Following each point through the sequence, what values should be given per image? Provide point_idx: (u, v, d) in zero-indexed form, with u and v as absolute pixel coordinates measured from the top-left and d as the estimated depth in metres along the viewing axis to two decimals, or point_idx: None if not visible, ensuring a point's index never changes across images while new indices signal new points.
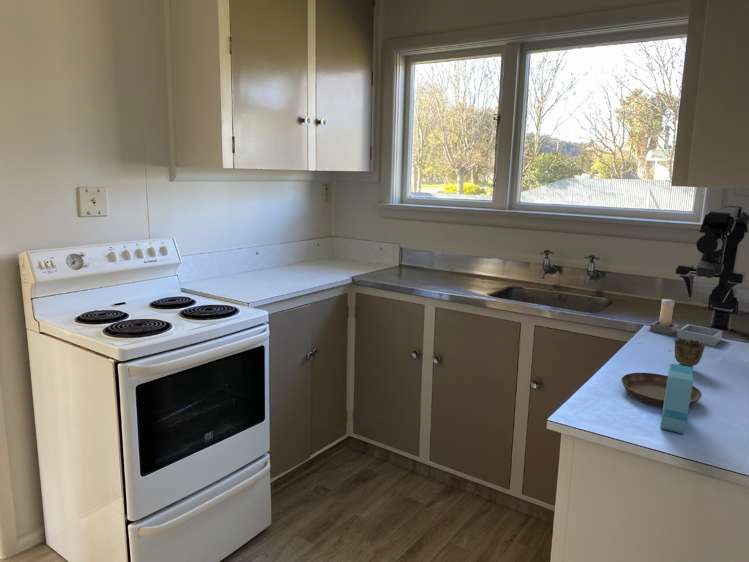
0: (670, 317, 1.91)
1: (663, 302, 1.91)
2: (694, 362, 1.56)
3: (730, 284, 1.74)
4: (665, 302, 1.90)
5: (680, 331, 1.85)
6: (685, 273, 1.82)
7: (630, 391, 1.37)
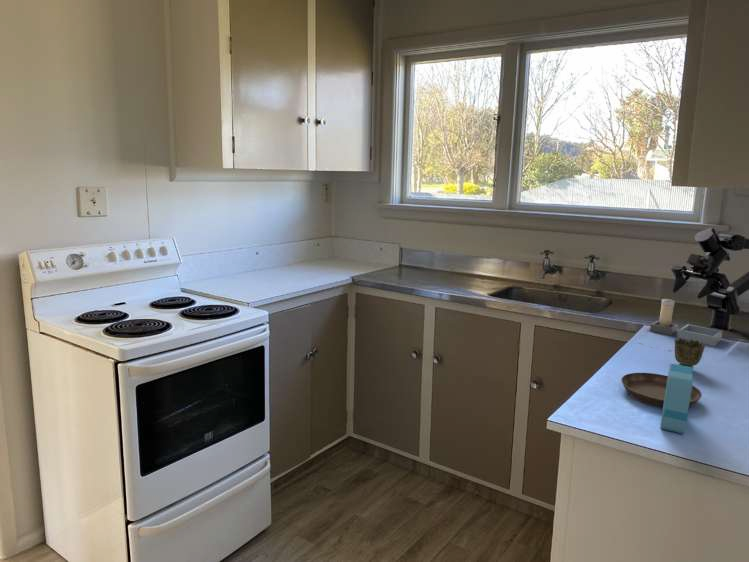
0: (670, 317, 1.91)
1: (663, 302, 1.91)
2: (694, 362, 1.56)
3: (711, 279, 1.88)
4: (665, 302, 1.90)
5: (680, 331, 1.85)
6: (679, 268, 1.99)
7: (630, 391, 1.37)
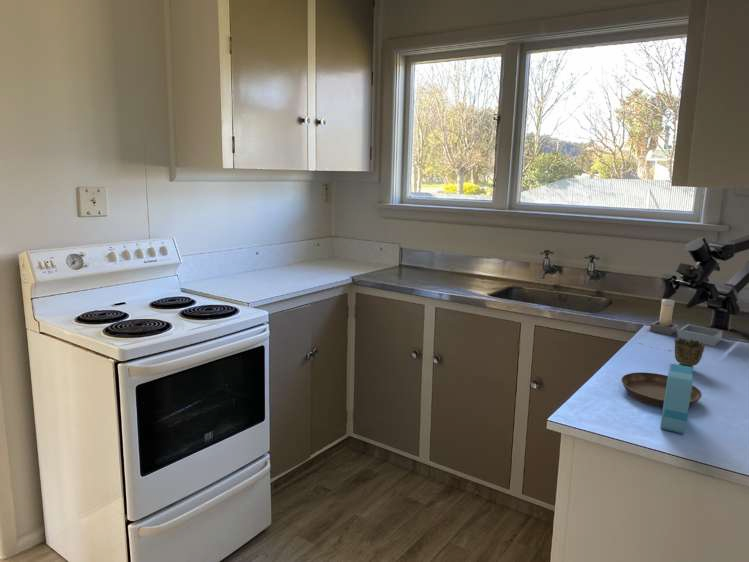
0: (670, 317, 1.91)
1: (663, 302, 1.91)
2: (694, 362, 1.56)
3: (700, 289, 1.87)
4: (665, 302, 1.90)
5: (680, 331, 1.85)
6: (668, 277, 1.98)
7: (630, 391, 1.37)
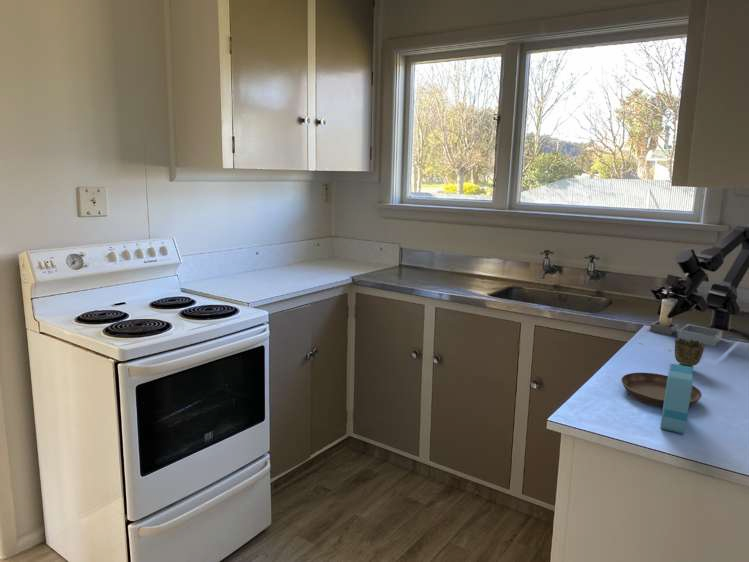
0: None
1: (663, 302, 1.91)
2: (694, 362, 1.56)
3: (681, 299, 1.88)
4: (665, 302, 1.90)
5: (680, 331, 1.85)
6: (657, 288, 1.97)
7: (630, 391, 1.37)
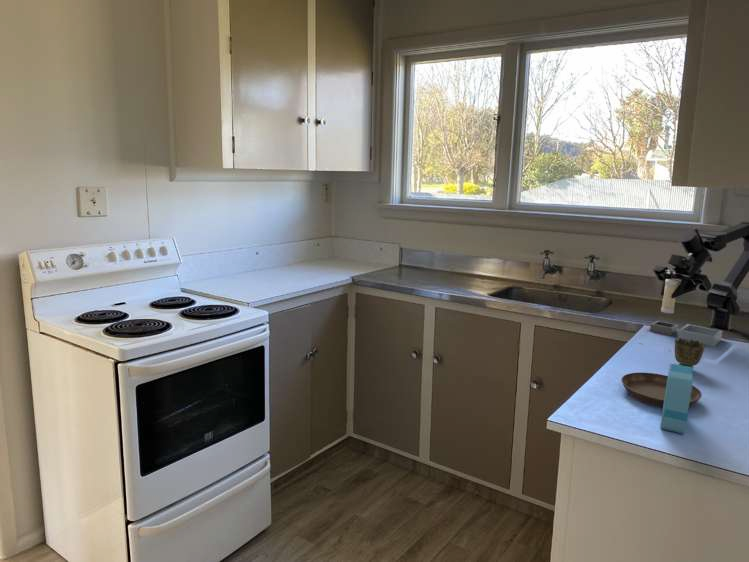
0: None
1: (667, 282, 1.89)
2: (694, 362, 1.56)
3: (685, 278, 1.86)
4: (669, 282, 1.88)
5: (680, 331, 1.85)
6: (660, 269, 1.95)
7: (630, 391, 1.37)
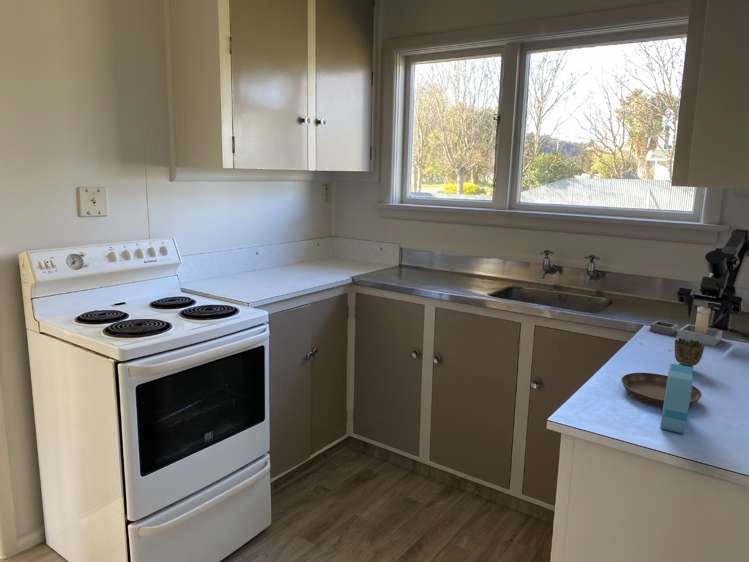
0: (707, 325, 1.84)
1: (701, 311, 1.82)
2: (694, 362, 1.56)
3: (726, 302, 1.81)
4: (703, 311, 1.82)
5: (680, 331, 1.85)
6: (687, 291, 1.89)
7: (630, 391, 1.37)
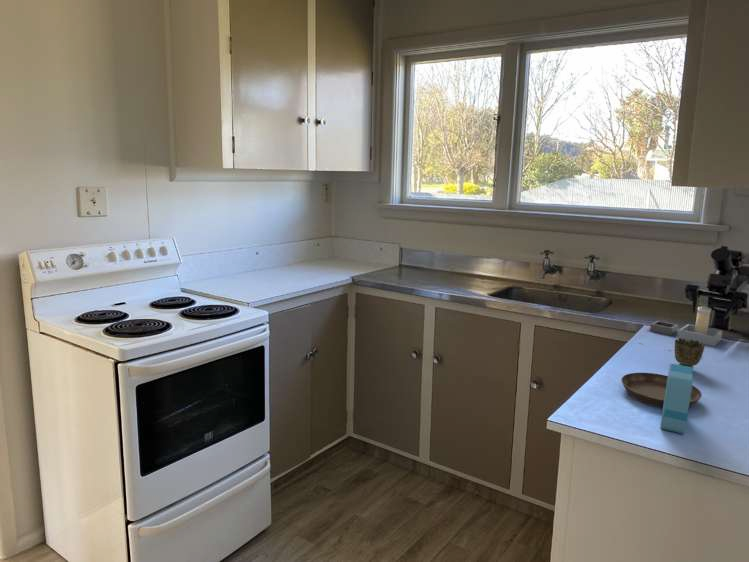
0: (707, 325, 1.84)
1: (701, 310, 1.83)
2: (694, 362, 1.56)
3: (736, 299, 1.87)
4: (704, 310, 1.82)
5: (680, 331, 1.85)
6: (694, 288, 1.95)
7: (630, 391, 1.37)
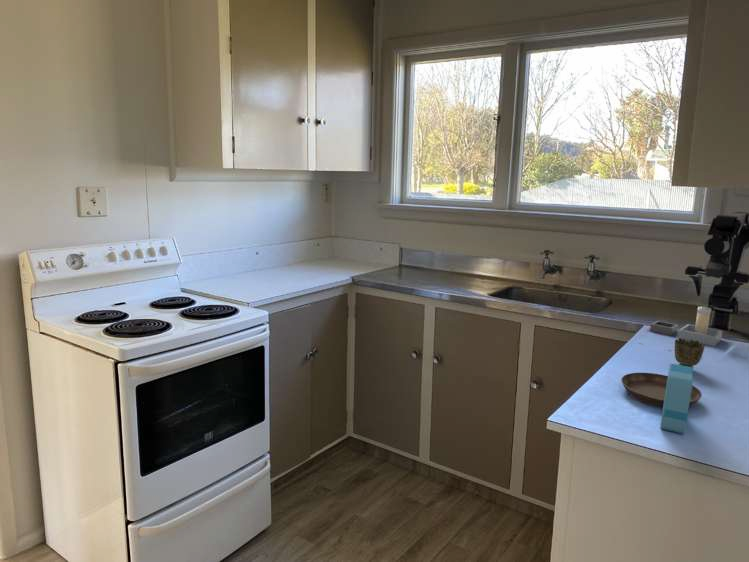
0: (707, 325, 1.84)
1: (701, 310, 1.83)
2: (694, 362, 1.56)
3: (737, 284, 1.84)
4: (704, 310, 1.82)
5: (680, 331, 1.85)
6: (694, 273, 1.92)
7: (630, 391, 1.37)
